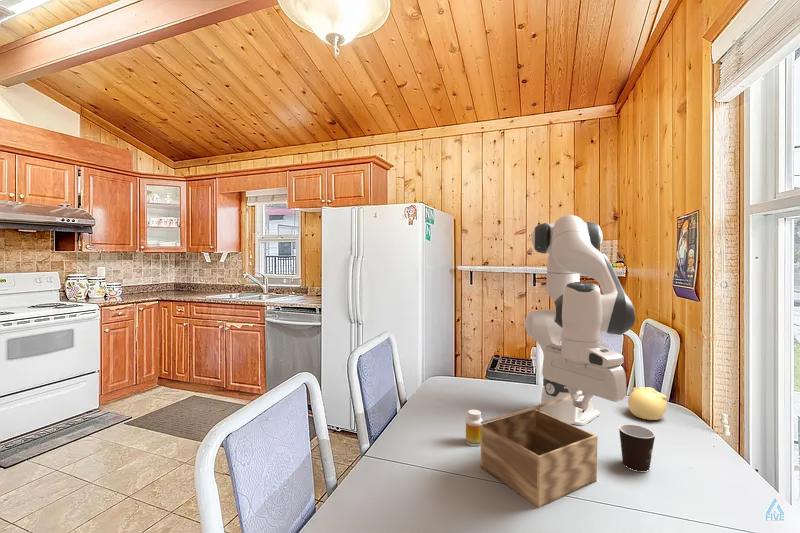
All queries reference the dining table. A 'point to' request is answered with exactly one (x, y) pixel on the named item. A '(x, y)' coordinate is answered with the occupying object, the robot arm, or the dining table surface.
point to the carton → (539, 455)
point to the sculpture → (647, 403)
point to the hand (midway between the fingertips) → (580, 407)
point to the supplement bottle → (473, 428)
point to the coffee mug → (636, 446)
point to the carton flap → (528, 409)
